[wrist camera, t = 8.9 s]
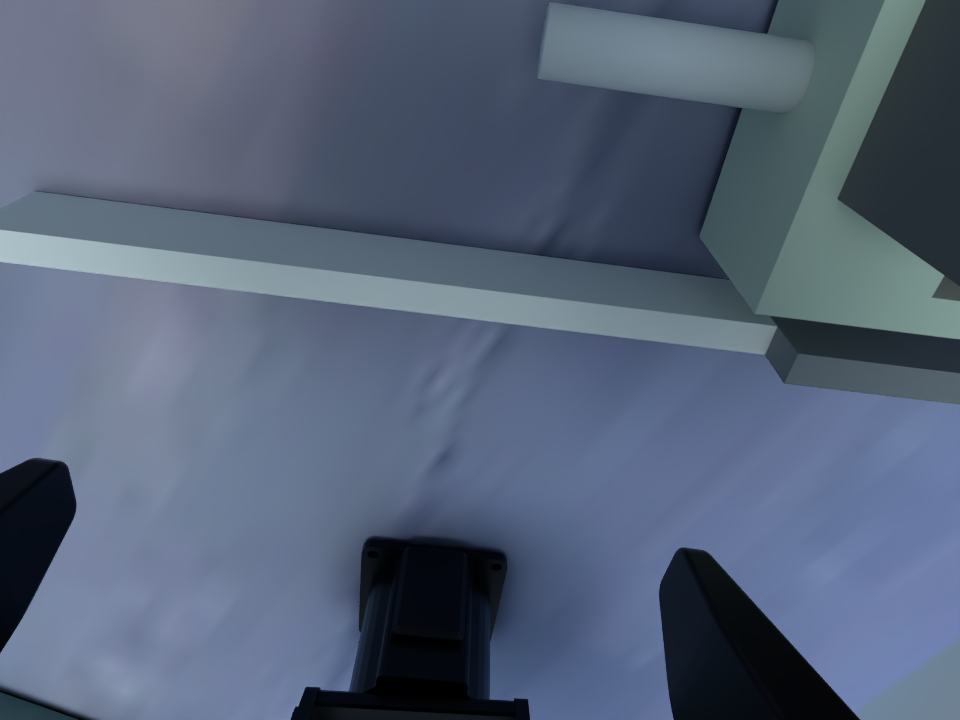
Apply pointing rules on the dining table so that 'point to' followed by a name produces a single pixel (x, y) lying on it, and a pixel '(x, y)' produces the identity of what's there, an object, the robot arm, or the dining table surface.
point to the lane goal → (467, 288)
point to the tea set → (26, 710)
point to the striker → (811, 147)
